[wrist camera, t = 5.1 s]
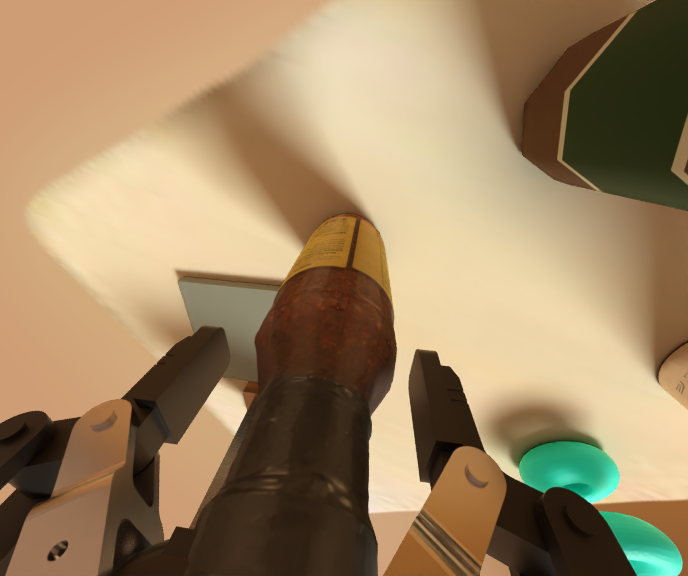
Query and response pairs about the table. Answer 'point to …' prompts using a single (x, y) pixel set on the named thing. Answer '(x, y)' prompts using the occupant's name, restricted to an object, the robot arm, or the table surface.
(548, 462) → the donuts
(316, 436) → the sauce bottle
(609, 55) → the beer bottle
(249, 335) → the mat
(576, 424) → the table surface
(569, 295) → the table surface
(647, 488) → the table surface
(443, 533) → the robot arm
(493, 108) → the table surface
